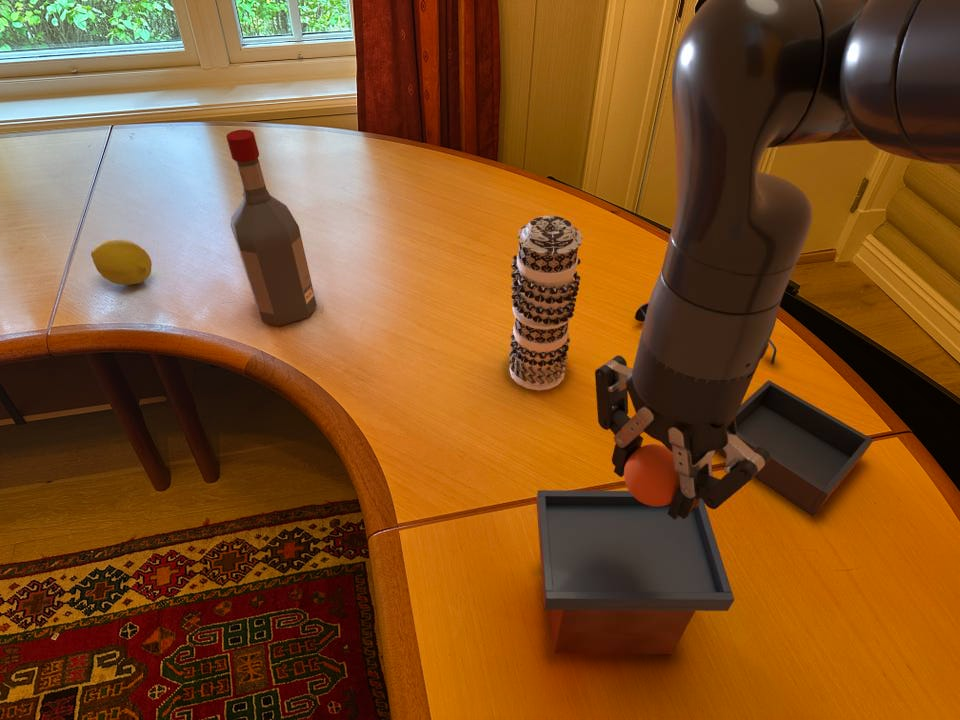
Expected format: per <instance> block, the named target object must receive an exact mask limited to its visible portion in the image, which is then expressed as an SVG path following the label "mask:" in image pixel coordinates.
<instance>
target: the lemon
mask: <svg viewBox="0 0 960 720" xmlns="http://www.w3.org/2000/svg"><path fill="white" fill-rule="evenodd" d="M90 256H91V258H92V261H93V264H94V266H95V268H96V270H97V272H98V273H99V274H100V275H101V276H102V277H103V278H104V279H105V280H107V281H109V282H110V283H114V284H117V285H121V286H133V285H136V284H140V283H141V284H142V283H143V282H145V281H146V280H147V279H148V278H149V276H150V275H151V273H152V265H153V264H152V259H151V256H150V255H149V253H148V252H147V251H146V249H145V248H143V246H141V245H139V244H138V243H136V242H135V241H132V240H128V239H125V238H111V239H107V240H104V241H102V242H101V243H99V244H98V245H96V246H95V247H94V248H93V249H91V252H90Z"/></svg>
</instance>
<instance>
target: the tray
mask: <svg viewBox="0 0 960 720" xmlns="http://www.w3.org/2000/svg"><path fill="white" fill-rule="evenodd" d="M535 501H536V502H535V503H536V516H537V530H538V542H539V543H538V544H539V557H540V558H539V559H540V572H541V583H542V584H541V587H542V595H543V596H542V599H543V610H544V611H545V610H547V611H551V610H661V611H695V612H728V611H729V610H730V608H731V607H732V605H733V603H734V602H735V596H734V594H733V590H732V588H731V584H730V581H729V578H728V574H727V571H726V568H725V564H724V562H723V558H722V555H721V552H720V548H719V545H718V542H717V540H716V539H717V538H716V536H715V533H714V529H713V527H712V524H711V519H710V517H709V514H708V510H707V506H706V505H705V503H704V501H703V499H700V502H699V504H698V506H697V508H696V509H695V510H694V511H693V512H692V513H691V514H690V515H689V516H688V517H686V518H684V519H683V518H681V517H680V516H679V517H678V518H677V519H676V520H674V519H673V518H672V517H670V516H669V515H668V511H669V508H670V506H671V504H669V505H666V506H649V505H646V504H644V503H642V502H640V501H638V500H637V499H636V498H635V497H634V496H633V495H632V494H631V493H630V492H629V490H574V489H573V490H571V489H570V490H561V489H560V490H558V489H557V490H554V489H552V490H550V489H549V490H548V489H547V490H546V489H539V490H538V489H537V493H536V500H535Z"/></svg>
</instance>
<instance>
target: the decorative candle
mask: <svg viewBox="0 0 960 720" xmlns="http://www.w3.org/2000/svg"><path fill="white" fill-rule="evenodd" d="M517 238H518V252H517V254H515V255H513V257H512V261H513V262H512V263H511V264H510V267H511V269H512V271H511V273H510V277H511V278H512V285H511V290H512V293H511V296H510V297H511V299H512V308H511V309H512V313H513V315H514V323H513V328H512V333H511V334H510V339H511V341H510V344H509V345H510V347H511V349H510V351H509V357H510V358H509V360H508V363H509V373H510V377H511V379H512V380H514V382H515V383H516V384H517V385H519V386H521V387H523V388H525V389H527V390H533V391H545V390H547V391H548V390H550V389H552V388H553V389H554V388H555V387H557V386H559V385H560V384H561V382H562V381H563V380H564V379H565V375H566V374H565V373H566V367H567V366H568V364H567V362H566V360H568V358H569V356H568V351H569V349H570V346H569V343H570V342H571V338H570V337H569V335H570V334H569V330H570V326H569V322H570V321H571V320H572V318H573V317H574V312H575V307H576V302H577V298H576V297H577V296H578V291H579V290H580V287H579V286H580V281H581V276H580V275H579V274H578V271H577V269H578V266H579V265H580V264H581V259H580V258H579V256H578V252H579V246H581V244H582V241H583V238H584V237H583V235H582V233H581V231H580V230H579V229H578V228H577V227H575V226H574V224H573V223H572V222H571V221H569V220H568V219H567V218H564V217H561V216H557V215H541V216H538V217H535V218H533V219H532V220H530V221H529V222H528V223H526V224H524V225H523V226H522V227H521V228H519V230H518V232H517Z"/></svg>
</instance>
